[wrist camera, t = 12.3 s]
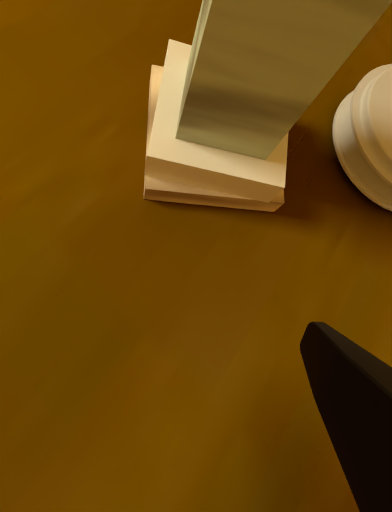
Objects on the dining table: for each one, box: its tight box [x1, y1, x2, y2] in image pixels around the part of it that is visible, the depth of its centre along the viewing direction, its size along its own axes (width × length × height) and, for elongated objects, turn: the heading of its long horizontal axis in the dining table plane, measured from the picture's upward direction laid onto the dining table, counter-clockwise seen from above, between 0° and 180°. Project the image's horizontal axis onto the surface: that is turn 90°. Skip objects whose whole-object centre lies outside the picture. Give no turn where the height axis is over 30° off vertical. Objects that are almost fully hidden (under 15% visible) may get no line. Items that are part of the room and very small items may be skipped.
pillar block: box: [175, 0, 392, 160], centre depth 17 cm, size 6×6×11 cm
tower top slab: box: [144, 39, 289, 203], centre depth 24 cm, size 9×9×2 cm
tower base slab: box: [144, 65, 284, 212], centre depth 26 cm, size 10×10×2 cm
